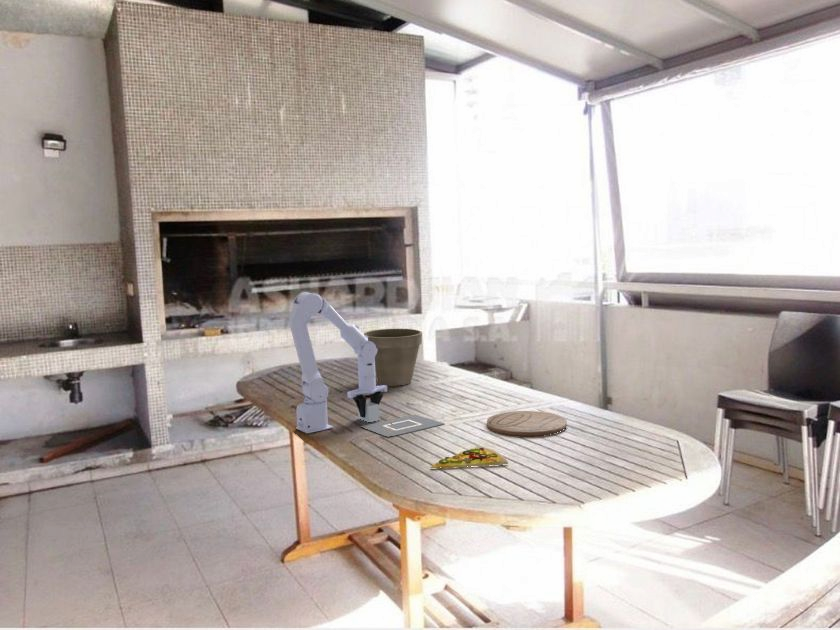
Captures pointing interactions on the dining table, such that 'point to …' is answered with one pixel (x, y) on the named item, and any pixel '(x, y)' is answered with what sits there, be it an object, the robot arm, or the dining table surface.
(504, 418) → the trivet
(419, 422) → the mat
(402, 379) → the plant pot
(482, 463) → the pizza slice
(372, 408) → the card box
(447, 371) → the dining table surface
